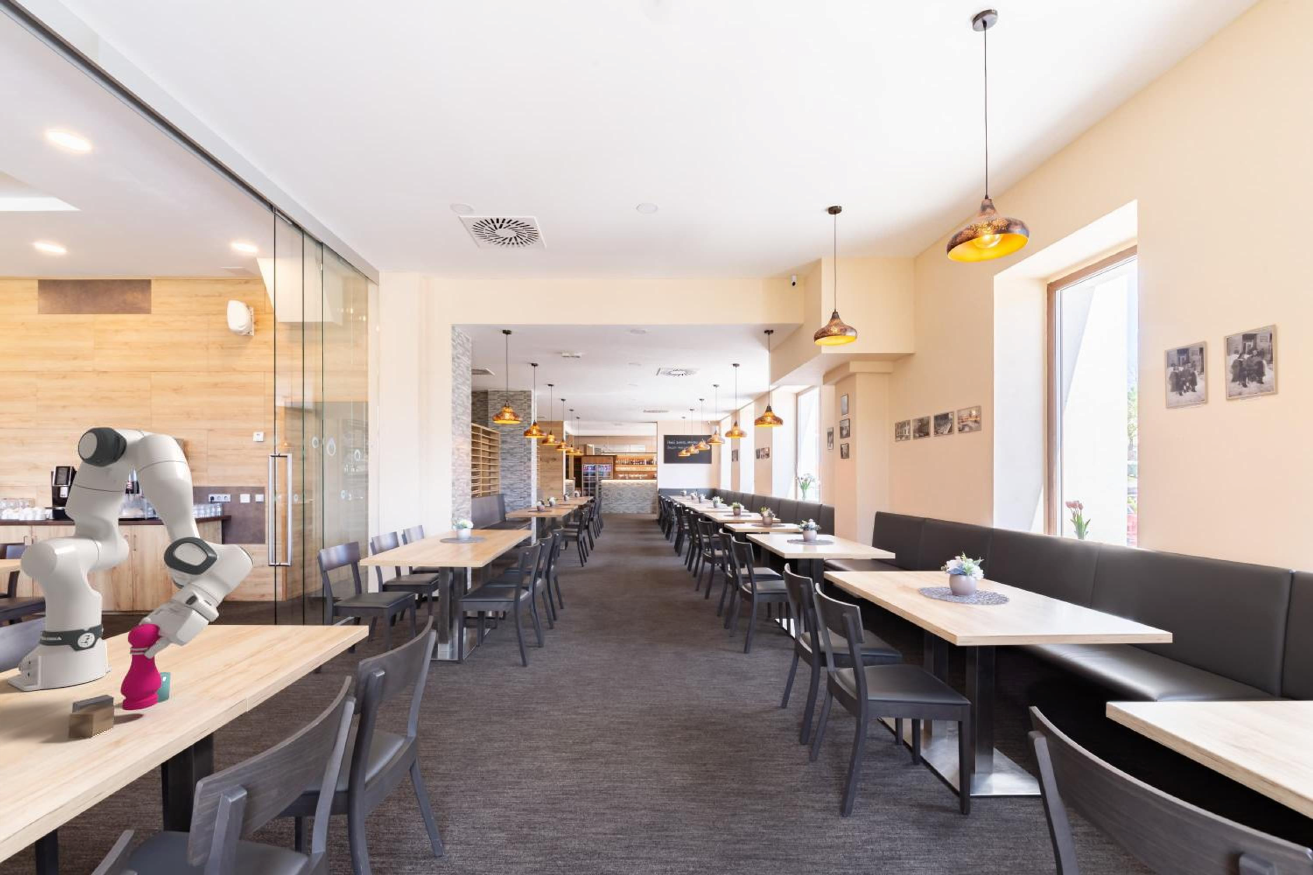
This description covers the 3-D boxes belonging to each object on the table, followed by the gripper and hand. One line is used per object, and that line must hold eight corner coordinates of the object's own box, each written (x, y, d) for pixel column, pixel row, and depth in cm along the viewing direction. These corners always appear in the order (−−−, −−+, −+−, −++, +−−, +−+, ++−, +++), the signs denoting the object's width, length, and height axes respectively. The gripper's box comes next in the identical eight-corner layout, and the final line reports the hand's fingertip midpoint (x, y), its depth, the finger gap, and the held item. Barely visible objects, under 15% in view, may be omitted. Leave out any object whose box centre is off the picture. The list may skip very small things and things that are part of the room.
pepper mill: (167, 702, 141) (173, 615, 143) (132, 713, 135) (138, 622, 136) (147, 697, 144) (153, 612, 145) (111, 708, 137) (117, 619, 138)
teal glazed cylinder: (138, 702, 148) (139, 677, 148) (160, 695, 152) (161, 671, 153) (151, 704, 146) (153, 679, 146) (174, 697, 151) (175, 673, 151)
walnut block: (68, 738, 127) (69, 713, 128) (90, 728, 132) (91, 705, 133) (92, 738, 127) (93, 713, 128) (113, 728, 132) (114, 704, 133)
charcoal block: (71, 720, 137) (72, 702, 137) (105, 711, 142) (106, 694, 142) (78, 724, 135) (79, 705, 135) (112, 715, 140) (113, 697, 140)
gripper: (163, 591, 152) (111, 639, 143) (201, 601, 141) (147, 653, 132) (183, 606, 155) (133, 654, 146) (222, 616, 145) (170, 669, 136)
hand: (140, 654), depth 139 cm, fingers closed on pepper mill, 5 cm apart
